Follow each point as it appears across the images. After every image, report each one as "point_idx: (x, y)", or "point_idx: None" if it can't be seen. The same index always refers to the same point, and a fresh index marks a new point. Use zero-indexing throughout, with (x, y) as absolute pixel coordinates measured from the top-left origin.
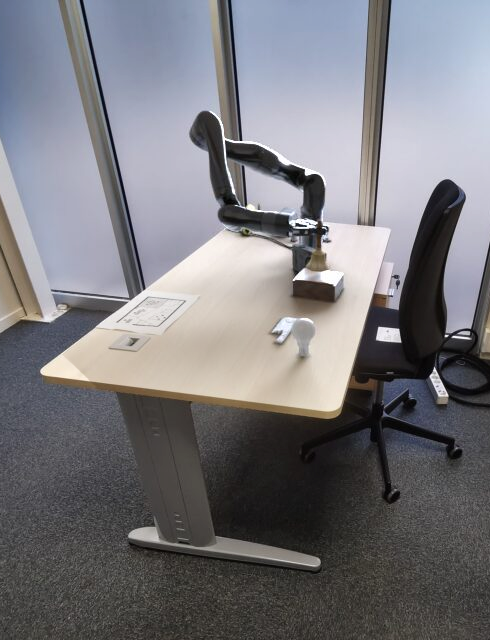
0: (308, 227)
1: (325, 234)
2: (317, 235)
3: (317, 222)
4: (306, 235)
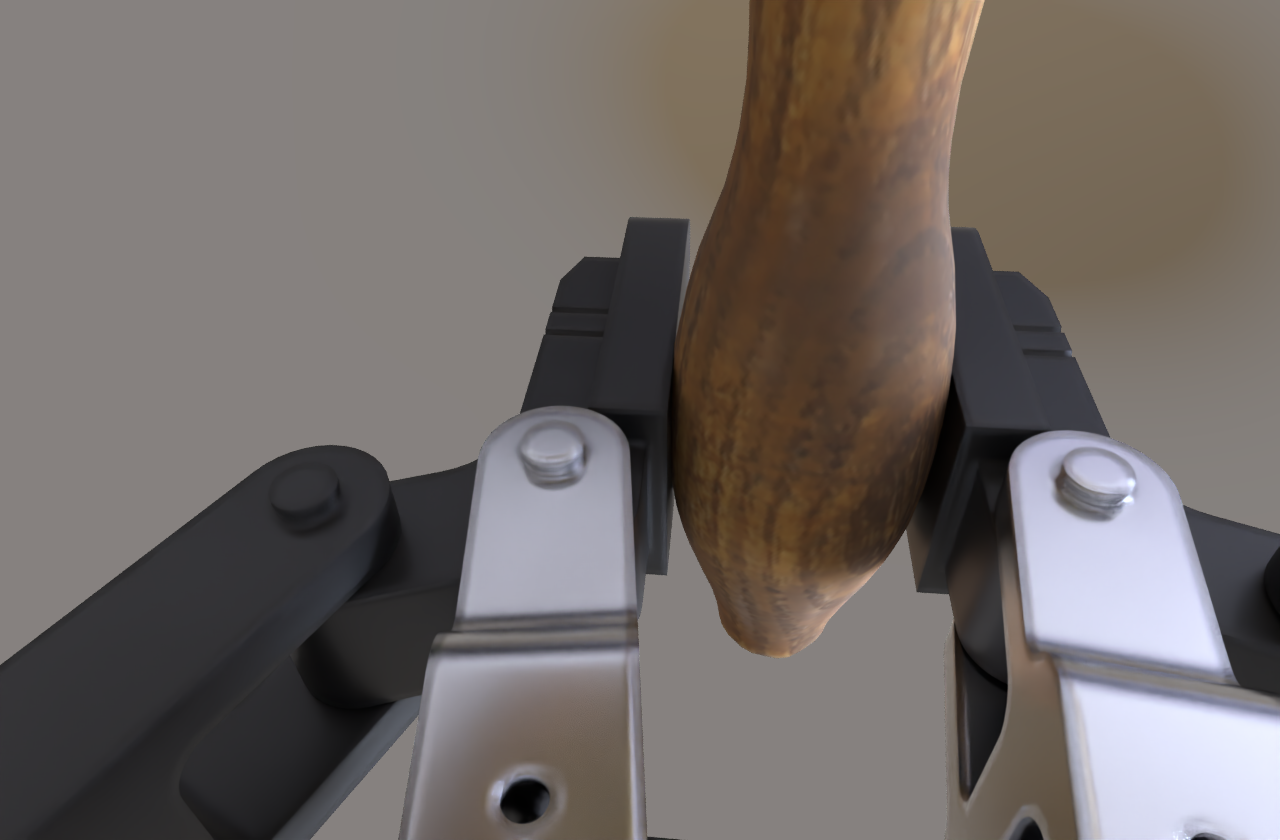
0: (381, 719)
1: (629, 230)
2: (687, 311)
3: (744, 624)
4: (135, 574)
